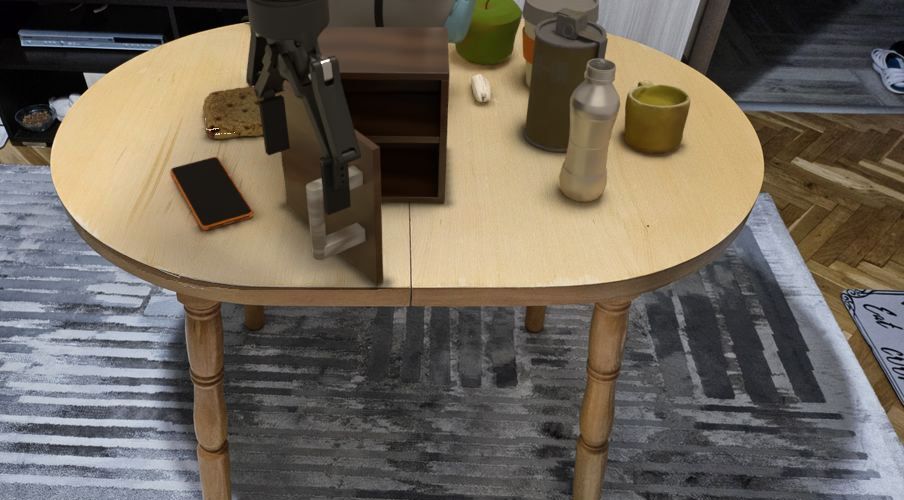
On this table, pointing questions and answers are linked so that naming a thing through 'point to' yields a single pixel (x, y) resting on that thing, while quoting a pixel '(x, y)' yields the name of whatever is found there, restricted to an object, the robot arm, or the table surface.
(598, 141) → the plastic bottle
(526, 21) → the reusable coffee cup
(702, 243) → the table surface
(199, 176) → the smartphone
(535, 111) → the canister
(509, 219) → the table surface
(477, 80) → the white ridged oblong
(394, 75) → the cupboard
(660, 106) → the mug
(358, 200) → the cupboard door
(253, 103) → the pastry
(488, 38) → the apple
